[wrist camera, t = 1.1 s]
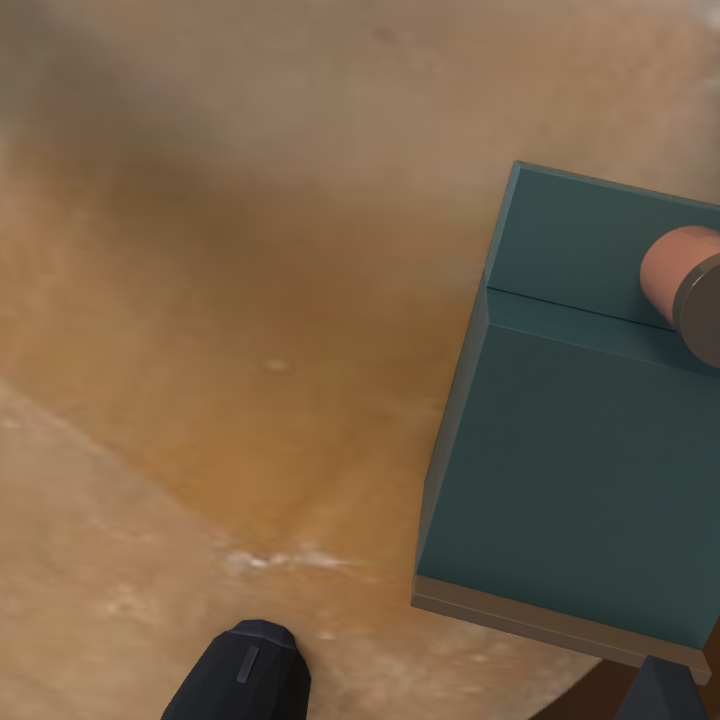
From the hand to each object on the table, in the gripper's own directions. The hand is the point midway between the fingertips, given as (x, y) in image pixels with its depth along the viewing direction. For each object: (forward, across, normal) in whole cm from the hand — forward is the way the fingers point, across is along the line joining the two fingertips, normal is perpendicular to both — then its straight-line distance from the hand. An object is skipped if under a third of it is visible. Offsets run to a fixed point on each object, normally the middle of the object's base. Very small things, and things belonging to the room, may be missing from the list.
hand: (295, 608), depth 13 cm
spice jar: (+23, +13, +5) cm, 27 cm away
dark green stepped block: (+27, +11, -2) cm, 29 cm away
